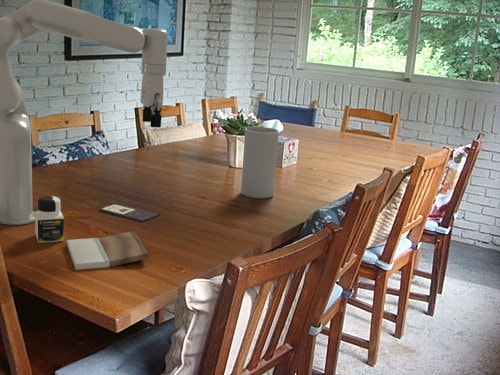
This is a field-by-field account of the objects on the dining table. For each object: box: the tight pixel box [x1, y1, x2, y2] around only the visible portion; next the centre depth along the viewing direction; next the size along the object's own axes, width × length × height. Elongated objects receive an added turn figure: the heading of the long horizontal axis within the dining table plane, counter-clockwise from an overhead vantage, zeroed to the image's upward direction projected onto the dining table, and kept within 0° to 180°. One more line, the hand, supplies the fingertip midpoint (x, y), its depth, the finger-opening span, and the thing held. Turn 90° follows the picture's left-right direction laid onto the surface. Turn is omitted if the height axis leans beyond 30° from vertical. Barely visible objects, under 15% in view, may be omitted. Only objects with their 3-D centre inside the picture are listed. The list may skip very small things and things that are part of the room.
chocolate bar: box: [98, 203, 161, 223], centre depth 211 cm, size 9×1×18 cm
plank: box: [98, 230, 150, 267], centre depth 176 cm, size 10×18×2 cm, turn 22°
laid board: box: [66, 237, 111, 271], centre depth 173 cm, size 9×18×2 cm, turn 22°
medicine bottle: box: [34, 195, 65, 244], centre depth 182 cm, size 7×7×12 cm
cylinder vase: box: [240, 126, 280, 200], centre depth 241 cm, size 12×12×25 cm
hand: (151, 124), depth 202 cm, fingers open, 9 cm apart
